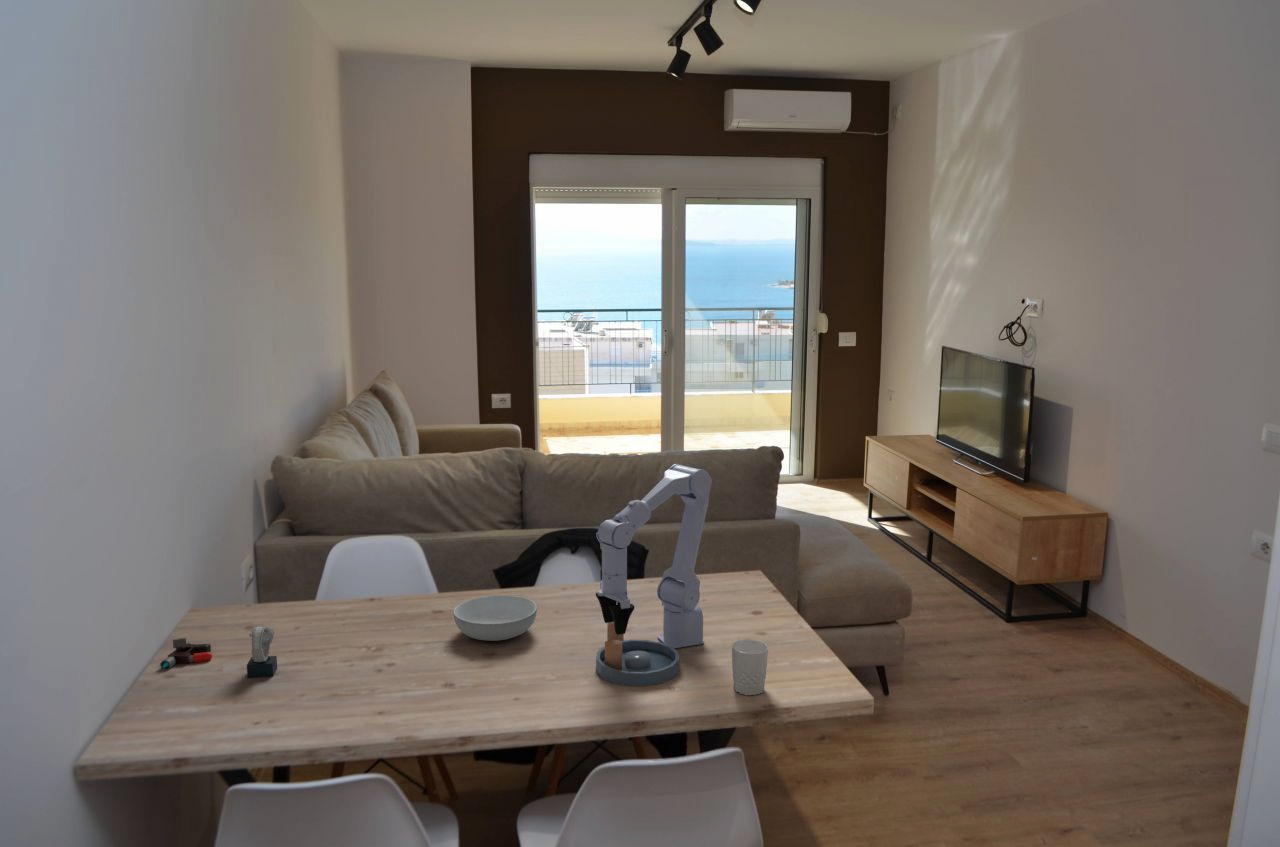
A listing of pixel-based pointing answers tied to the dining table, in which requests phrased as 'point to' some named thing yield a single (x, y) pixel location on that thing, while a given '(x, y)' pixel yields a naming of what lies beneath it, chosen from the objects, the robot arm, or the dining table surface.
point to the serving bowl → (495, 617)
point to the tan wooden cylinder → (613, 654)
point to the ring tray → (641, 663)
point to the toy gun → (187, 653)
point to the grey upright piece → (261, 653)
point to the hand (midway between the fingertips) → (614, 627)
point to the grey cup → (749, 666)
